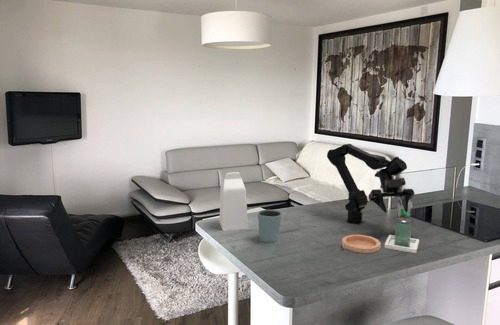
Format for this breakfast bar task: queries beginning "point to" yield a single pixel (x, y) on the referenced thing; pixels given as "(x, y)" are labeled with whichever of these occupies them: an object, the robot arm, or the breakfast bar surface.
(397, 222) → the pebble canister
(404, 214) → the food container
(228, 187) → the milk
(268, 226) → the blue-grey cup
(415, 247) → the tray
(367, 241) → the bowl
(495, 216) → the breakfast bar surface
